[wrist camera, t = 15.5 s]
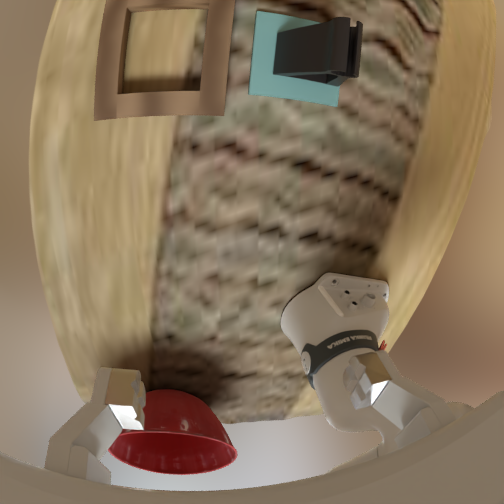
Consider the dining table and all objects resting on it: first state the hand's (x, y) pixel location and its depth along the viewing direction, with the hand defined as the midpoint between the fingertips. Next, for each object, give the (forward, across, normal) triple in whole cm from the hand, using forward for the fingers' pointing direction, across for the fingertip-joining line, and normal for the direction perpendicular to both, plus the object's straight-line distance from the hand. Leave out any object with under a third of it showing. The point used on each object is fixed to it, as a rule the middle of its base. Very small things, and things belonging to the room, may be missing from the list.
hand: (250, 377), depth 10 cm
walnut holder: (+31, -7, +17) cm, 36 cm away
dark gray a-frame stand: (+30, +11, +17) cm, 36 cm away
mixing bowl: (+31, -10, -53) cm, 62 cm away
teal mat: (+31, +10, +17) cm, 36 cm away
